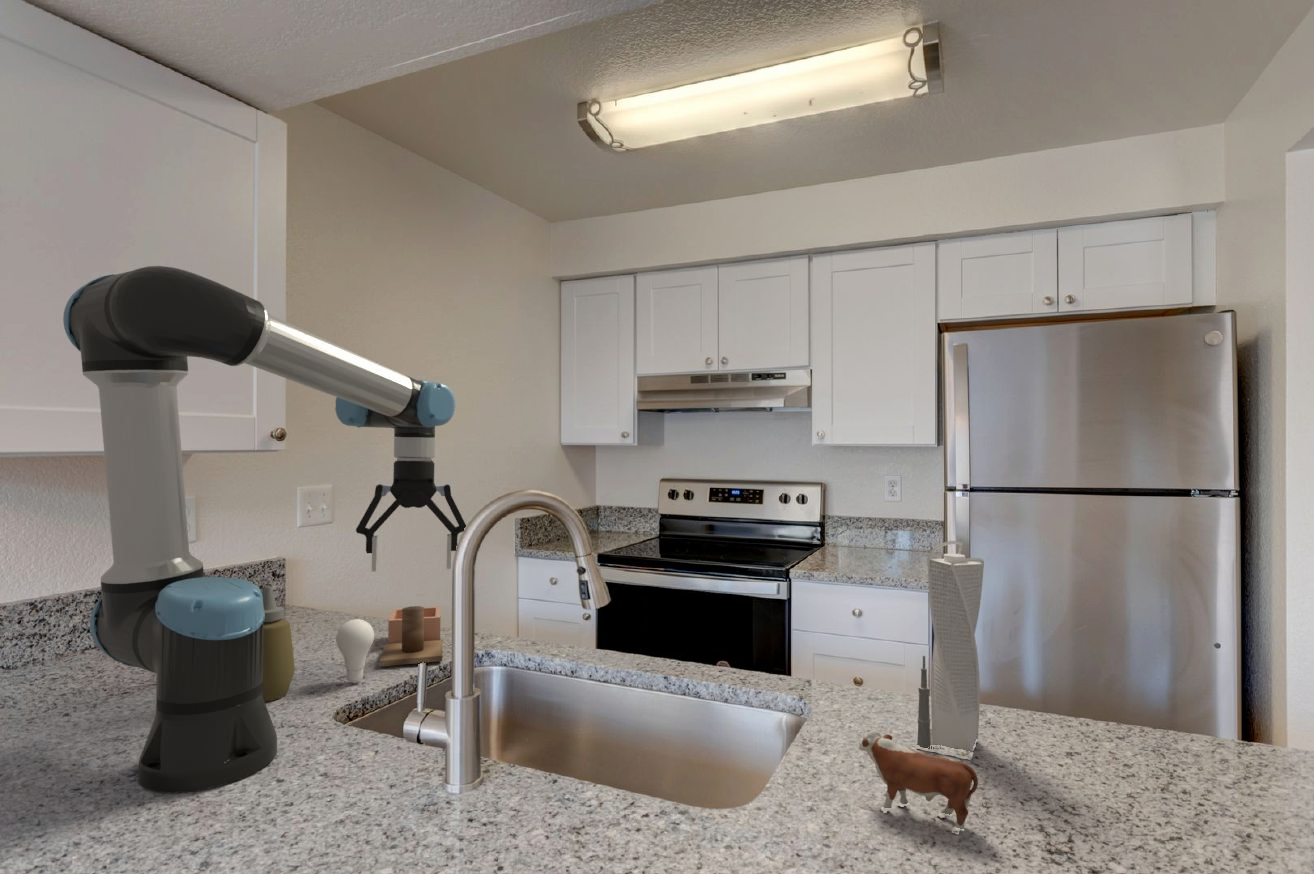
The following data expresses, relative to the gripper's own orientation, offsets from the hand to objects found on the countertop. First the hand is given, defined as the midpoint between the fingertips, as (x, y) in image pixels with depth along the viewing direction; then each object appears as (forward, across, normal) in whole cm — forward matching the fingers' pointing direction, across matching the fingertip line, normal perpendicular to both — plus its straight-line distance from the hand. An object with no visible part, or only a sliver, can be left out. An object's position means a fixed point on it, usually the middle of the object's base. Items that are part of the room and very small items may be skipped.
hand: (412, 569), depth 135 cm
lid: (+17, 0, 0) cm, 17 cm away
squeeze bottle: (+18, +22, +14) cm, 32 cm away
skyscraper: (+17, -74, +62) cm, 98 cm away
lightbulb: (+18, +8, +12) cm, 23 cm away
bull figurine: (+18, -58, +76) cm, 97 cm away
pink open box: (+17, 0, -12) cm, 21 cm away
